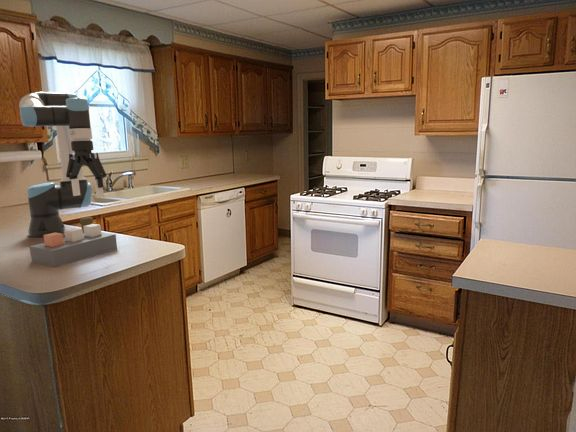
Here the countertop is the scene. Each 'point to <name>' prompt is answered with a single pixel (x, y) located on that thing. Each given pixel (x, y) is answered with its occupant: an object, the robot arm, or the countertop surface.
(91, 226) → the cream square button
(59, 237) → the terracotta button
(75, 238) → the cream white cube
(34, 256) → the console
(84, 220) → the cork
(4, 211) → the countertop surface
